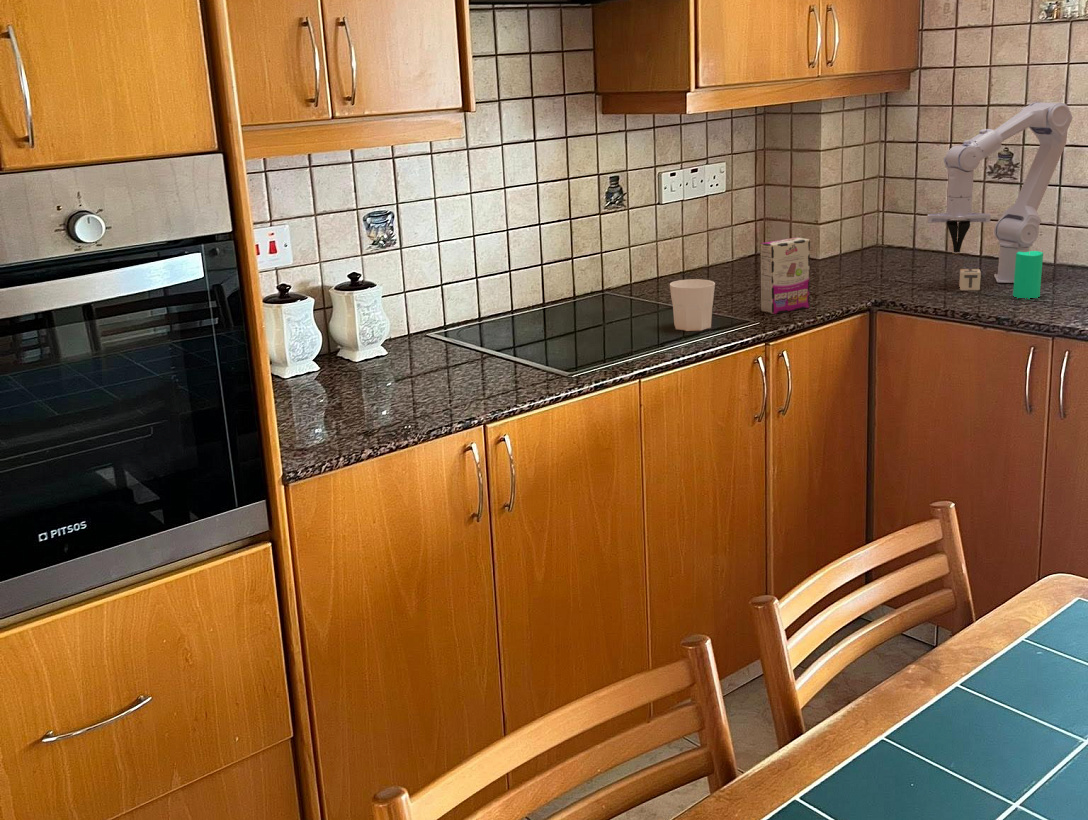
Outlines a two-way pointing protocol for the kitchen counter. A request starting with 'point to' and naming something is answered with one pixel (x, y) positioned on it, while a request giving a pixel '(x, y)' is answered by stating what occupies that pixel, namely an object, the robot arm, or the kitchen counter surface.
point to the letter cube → (969, 279)
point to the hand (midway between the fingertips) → (956, 251)
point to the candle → (1028, 274)
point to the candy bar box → (785, 275)
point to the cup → (692, 303)
